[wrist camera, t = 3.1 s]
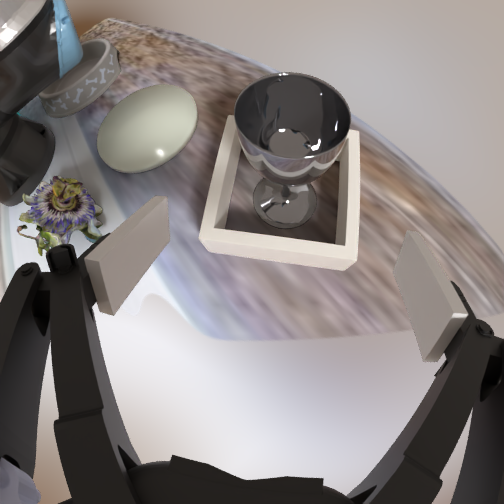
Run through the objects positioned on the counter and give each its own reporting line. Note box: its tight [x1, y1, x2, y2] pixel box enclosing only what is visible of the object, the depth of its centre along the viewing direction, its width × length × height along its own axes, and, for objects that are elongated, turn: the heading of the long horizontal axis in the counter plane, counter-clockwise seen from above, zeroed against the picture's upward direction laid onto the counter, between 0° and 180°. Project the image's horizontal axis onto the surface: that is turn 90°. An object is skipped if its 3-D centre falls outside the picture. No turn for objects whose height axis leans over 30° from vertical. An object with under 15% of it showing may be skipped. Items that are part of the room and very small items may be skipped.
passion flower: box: [17, 176, 102, 256], centre depth 30 cm, size 11×11×12 cm
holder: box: [199, 115, 360, 271], centre depth 30 cm, size 14×14×5 cm
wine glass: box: [234, 72, 351, 229], centre depth 25 cm, size 8×8×15 cm
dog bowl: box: [38, 38, 121, 118], centre depth 39 cm, size 17×18×5 cm
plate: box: [97, 85, 198, 173], centre depth 36 cm, size 15×15×1 cm
